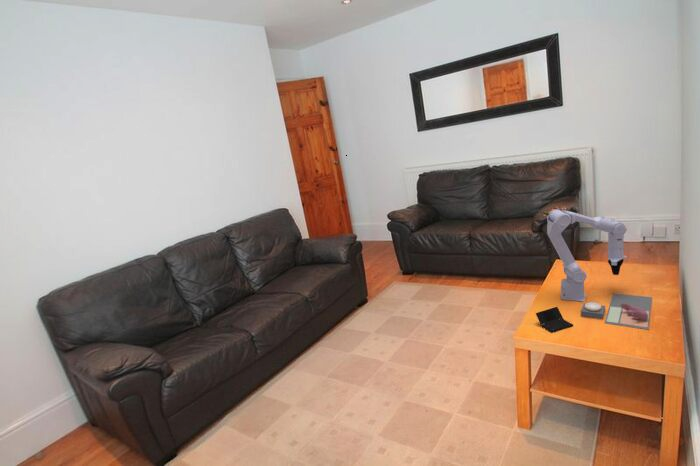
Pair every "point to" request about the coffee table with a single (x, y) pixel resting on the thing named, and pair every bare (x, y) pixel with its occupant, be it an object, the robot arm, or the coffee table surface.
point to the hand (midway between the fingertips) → (615, 274)
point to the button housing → (593, 312)
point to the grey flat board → (620, 315)
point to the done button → (593, 306)
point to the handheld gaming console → (552, 320)
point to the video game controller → (635, 311)
